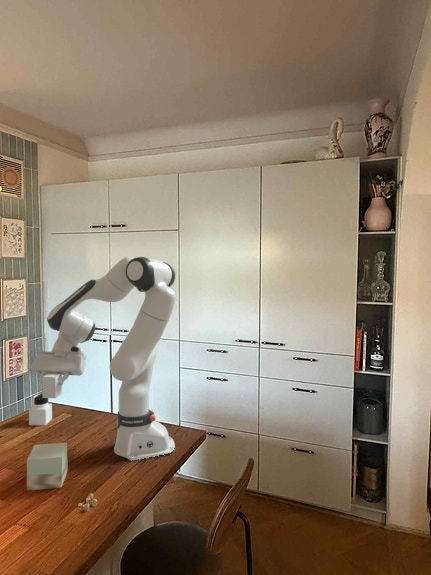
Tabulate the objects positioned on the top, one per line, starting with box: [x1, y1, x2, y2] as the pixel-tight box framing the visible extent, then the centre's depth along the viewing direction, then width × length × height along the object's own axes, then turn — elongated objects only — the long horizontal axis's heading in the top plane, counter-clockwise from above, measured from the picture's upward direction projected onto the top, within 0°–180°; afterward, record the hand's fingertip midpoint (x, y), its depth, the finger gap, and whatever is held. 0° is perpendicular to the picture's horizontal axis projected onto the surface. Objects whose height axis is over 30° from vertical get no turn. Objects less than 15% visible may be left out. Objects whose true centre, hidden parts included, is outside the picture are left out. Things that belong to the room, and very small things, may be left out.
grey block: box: [42, 373, 63, 399], centre depth 149 cm, size 5×5×8 cm
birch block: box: [26, 456, 69, 491], centre depth 126 cm, size 10×10×5 cm
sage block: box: [26, 442, 68, 477], centre depth 125 cm, size 10×10×5 cm
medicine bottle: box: [28, 393, 53, 426], centre depth 170 cm, size 7×7×12 cm
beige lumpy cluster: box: [78, 492, 98, 512], centre depth 113 cm, size 5×5×2 cm
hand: (51, 383), depth 149 cm, fingers closed on grey block, 5 cm apart
